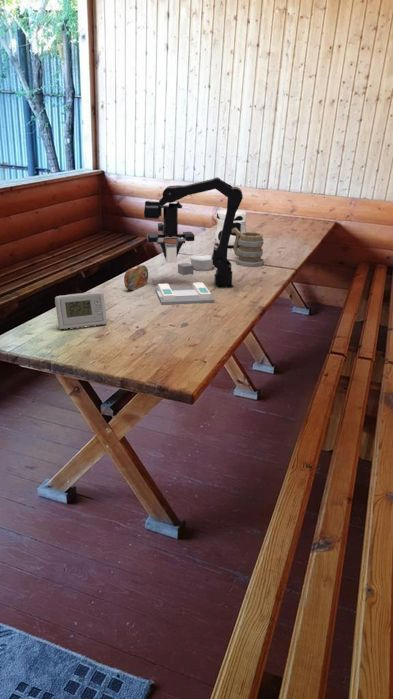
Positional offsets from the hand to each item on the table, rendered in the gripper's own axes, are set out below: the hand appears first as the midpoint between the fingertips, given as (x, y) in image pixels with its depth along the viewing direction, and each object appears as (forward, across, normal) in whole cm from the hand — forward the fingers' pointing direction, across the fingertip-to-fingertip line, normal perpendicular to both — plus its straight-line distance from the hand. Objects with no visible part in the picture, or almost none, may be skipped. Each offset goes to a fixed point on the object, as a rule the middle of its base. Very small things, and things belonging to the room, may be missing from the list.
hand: (170, 257), depth 224 cm
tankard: (+11, -41, -32) cm, 53 cm away
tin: (+11, +15, +4) cm, 19 cm away
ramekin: (+11, -18, -23) cm, 31 cm away
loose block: (+11, -9, -15) cm, 20 cm away
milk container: (+11, -42, -67) cm, 80 cm away
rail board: (+11, -3, +18) cm, 21 cm away
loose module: (+1, 0, 0) cm, 1 cm away
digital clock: (+11, +36, +45) cm, 58 cm away
